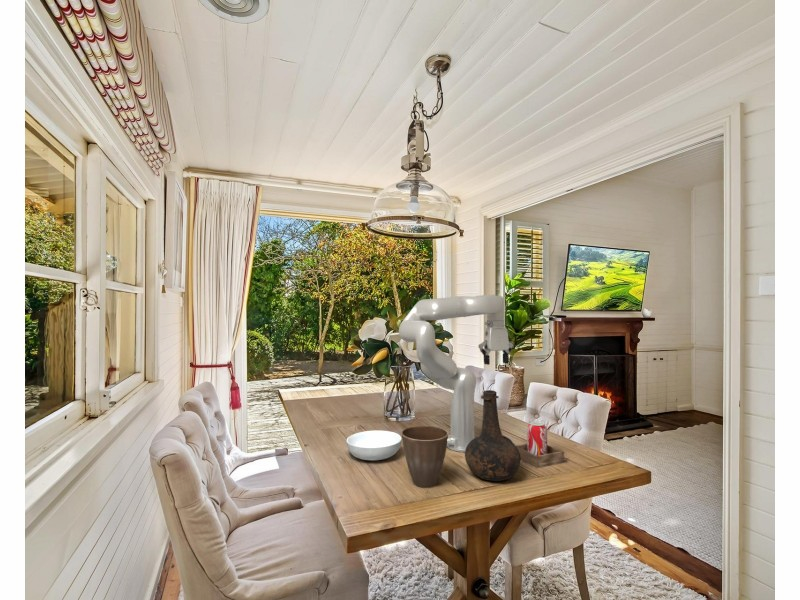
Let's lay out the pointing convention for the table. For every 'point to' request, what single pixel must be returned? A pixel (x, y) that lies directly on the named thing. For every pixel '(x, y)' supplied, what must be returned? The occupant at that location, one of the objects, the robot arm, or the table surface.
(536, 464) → the open storage box
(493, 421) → the glass bottle
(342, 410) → the table surface
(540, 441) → the soda can
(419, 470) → the plant pot
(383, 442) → the serving bowl
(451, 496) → the table surface
